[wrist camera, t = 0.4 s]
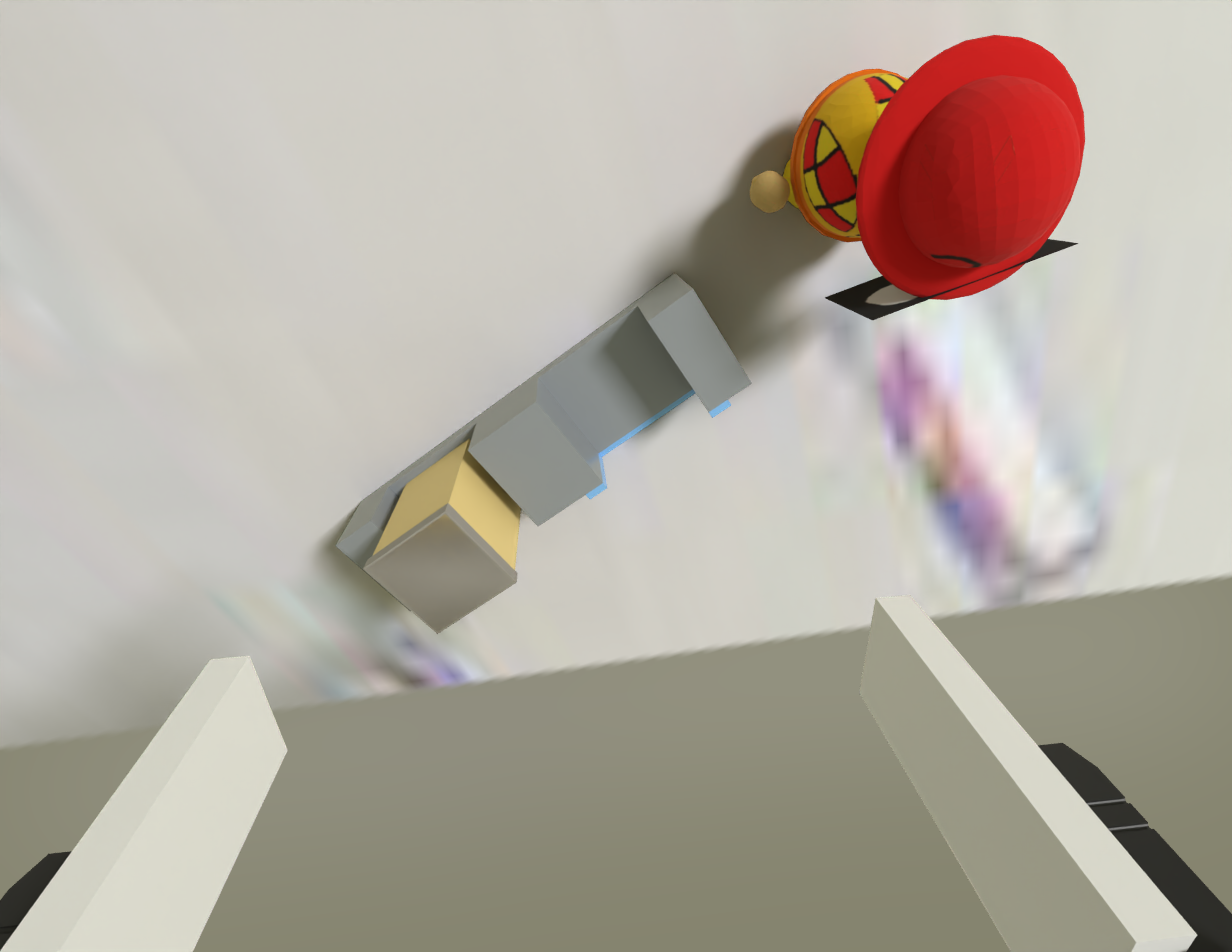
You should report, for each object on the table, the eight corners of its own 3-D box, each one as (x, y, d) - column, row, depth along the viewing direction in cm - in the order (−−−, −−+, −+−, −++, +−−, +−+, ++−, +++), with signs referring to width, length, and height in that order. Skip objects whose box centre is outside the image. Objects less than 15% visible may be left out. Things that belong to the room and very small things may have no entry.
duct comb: (361, 501, 39) (335, 545, 34) (674, 273, 35) (693, 288, 30) (430, 566, 42) (415, 615, 37) (730, 362, 37) (755, 389, 33)
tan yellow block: (403, 483, 38) (362, 568, 29) (469, 436, 37) (445, 511, 29) (461, 540, 40) (437, 633, 32) (524, 496, 39) (516, 582, 31)
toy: (758, 294, 36) (881, 369, 22) (717, 125, 32) (837, 91, 18) (948, 222, 35) (1194, 254, 21) (930, 38, 31) (1222, -64, 17)
